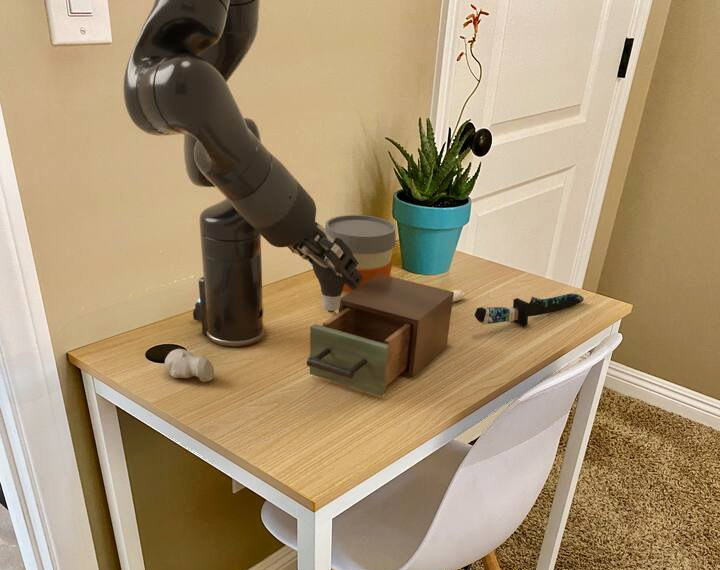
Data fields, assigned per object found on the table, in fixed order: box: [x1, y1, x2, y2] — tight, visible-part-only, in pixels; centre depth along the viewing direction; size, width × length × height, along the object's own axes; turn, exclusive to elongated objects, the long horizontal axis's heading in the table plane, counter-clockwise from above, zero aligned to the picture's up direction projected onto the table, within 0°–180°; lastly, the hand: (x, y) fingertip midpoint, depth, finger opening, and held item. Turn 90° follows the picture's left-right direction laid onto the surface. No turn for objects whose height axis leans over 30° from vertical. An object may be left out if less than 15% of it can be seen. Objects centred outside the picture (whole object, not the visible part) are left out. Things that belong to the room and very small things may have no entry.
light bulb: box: [311, 239, 353, 314], centre depth 101 cm, size 6×6×10 cm
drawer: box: [306, 307, 413, 397], centre depth 112 cm, size 18×12×8 cm
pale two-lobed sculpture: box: [164, 348, 215, 383], centre depth 112 cm, size 4×8×5 cm
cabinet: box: [339, 274, 454, 379], centre depth 121 cm, size 14×14×10 cm
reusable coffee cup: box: [324, 214, 397, 314], centre depth 133 cm, size 12×13×15 cm
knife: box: [474, 293, 585, 327], centre depth 136 cm, size 31×3×4 cm, turn 125°
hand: (342, 276), depth 102 cm, fingers closed on light bulb, 5 cm apart
